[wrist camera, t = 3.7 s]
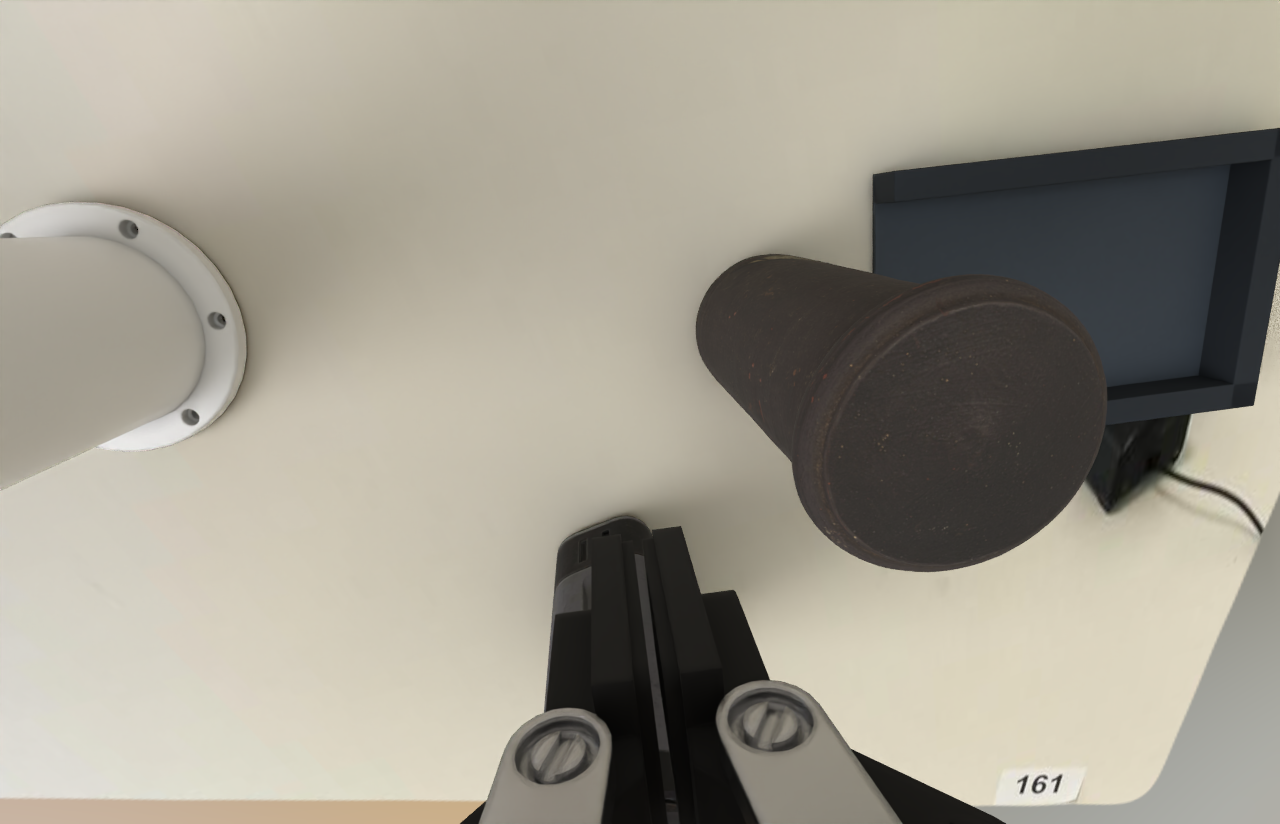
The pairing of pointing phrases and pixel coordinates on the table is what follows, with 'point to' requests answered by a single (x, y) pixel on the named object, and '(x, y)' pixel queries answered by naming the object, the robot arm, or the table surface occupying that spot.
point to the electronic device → (577, 596)
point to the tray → (1115, 254)
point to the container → (911, 402)
